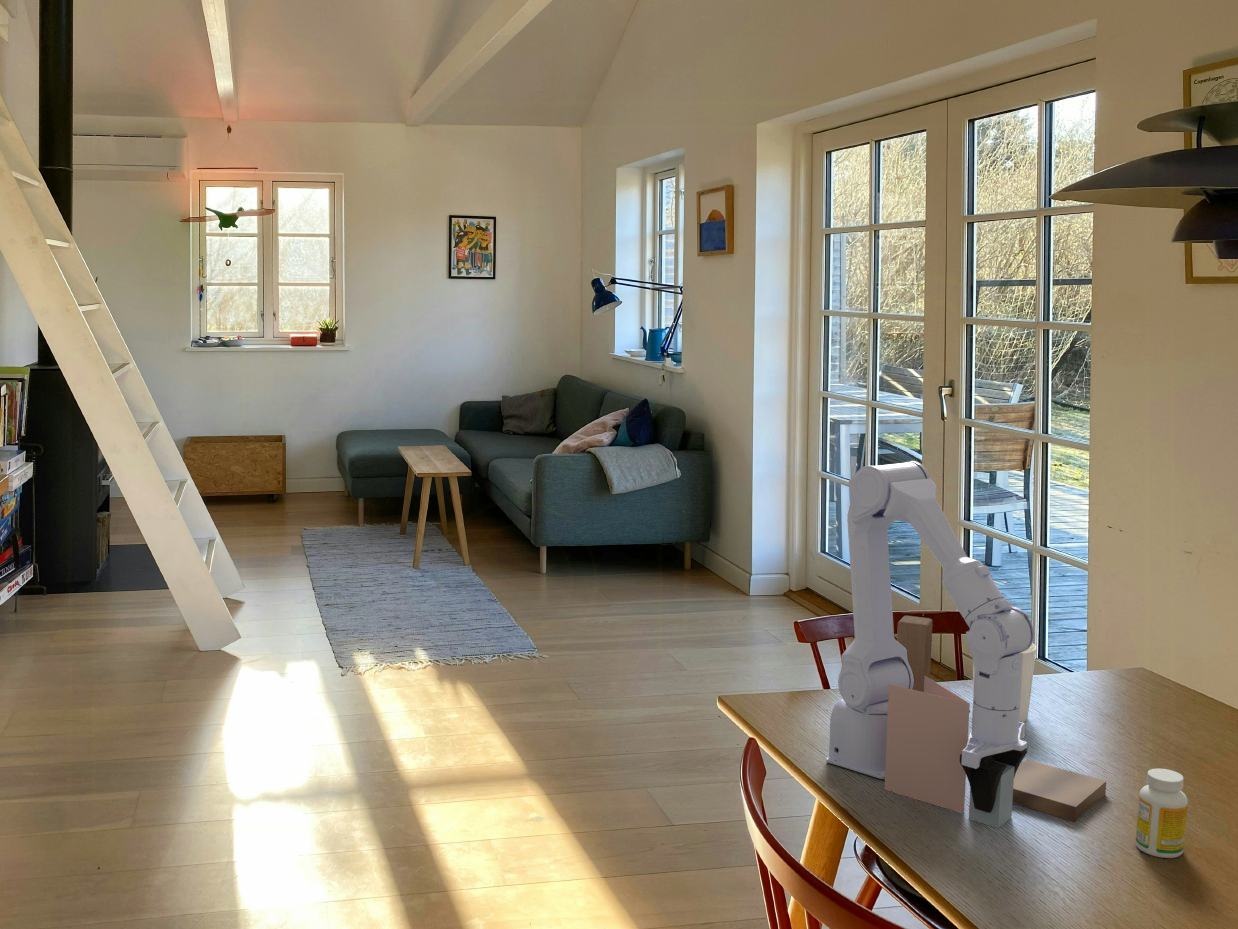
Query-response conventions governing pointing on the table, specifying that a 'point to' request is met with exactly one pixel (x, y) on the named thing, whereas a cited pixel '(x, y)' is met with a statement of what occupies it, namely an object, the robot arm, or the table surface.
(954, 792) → the greeting card
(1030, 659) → the candle holder
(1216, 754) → the table surface
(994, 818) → the slate block
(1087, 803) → the walnut base
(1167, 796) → the supplement bottle
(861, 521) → the robot arm
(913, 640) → the wooden block
